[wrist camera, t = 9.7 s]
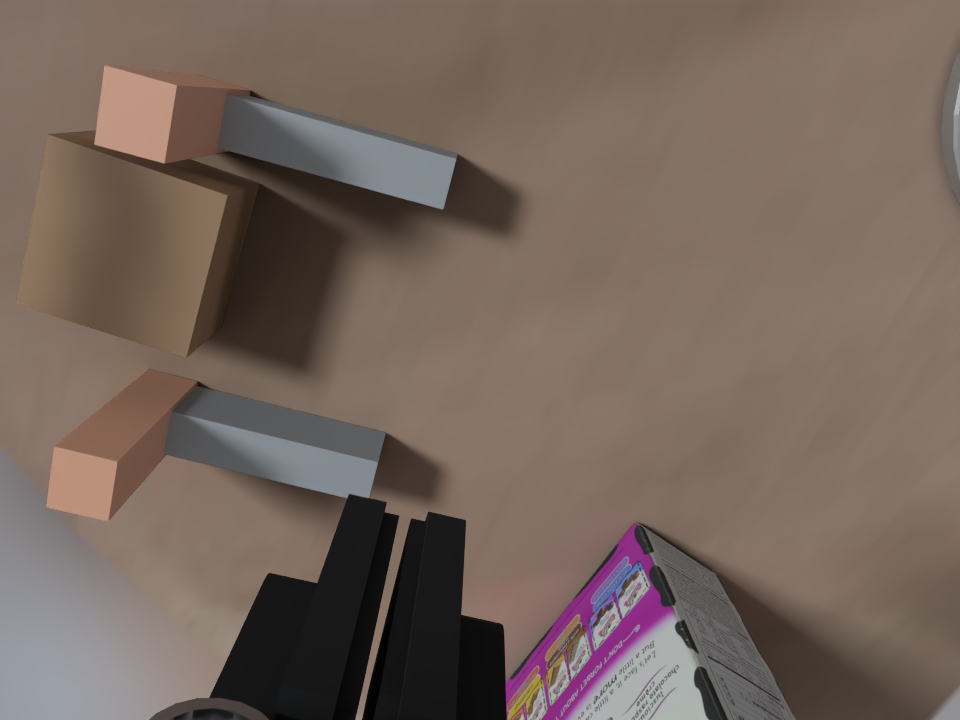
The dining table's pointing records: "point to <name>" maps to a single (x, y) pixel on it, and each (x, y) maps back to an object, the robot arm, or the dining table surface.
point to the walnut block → (134, 243)
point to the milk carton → (647, 647)
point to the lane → (179, 401)
